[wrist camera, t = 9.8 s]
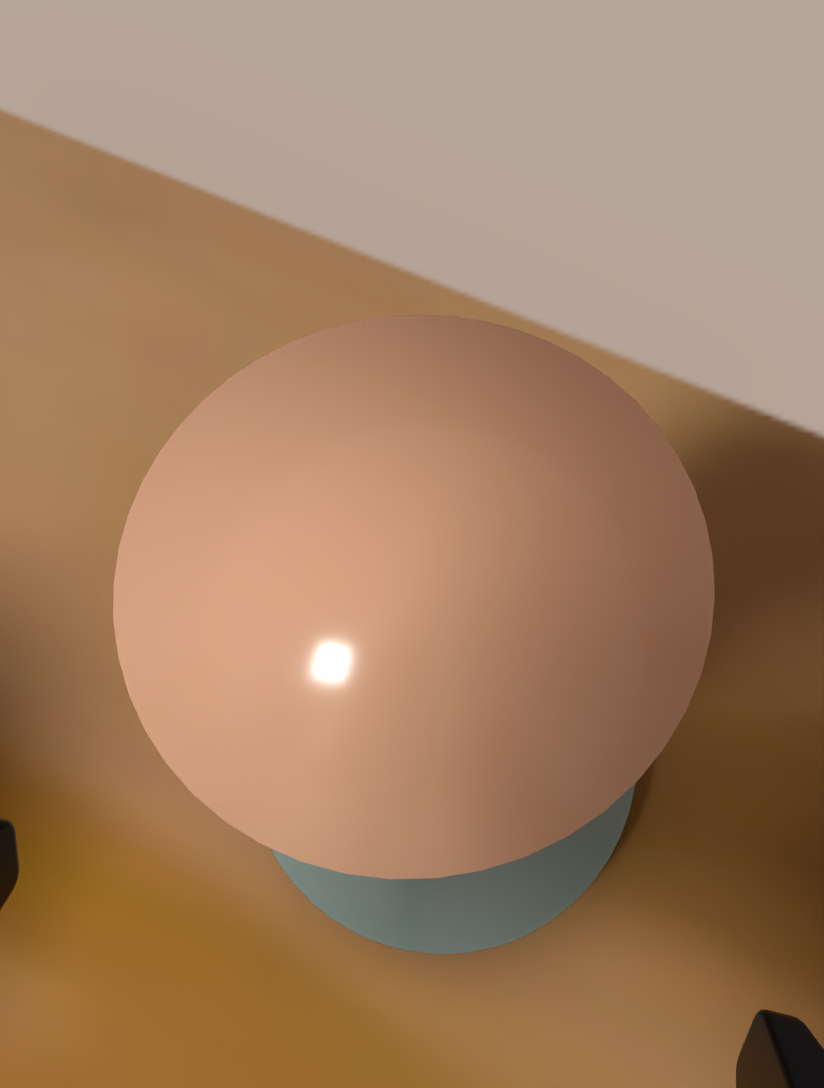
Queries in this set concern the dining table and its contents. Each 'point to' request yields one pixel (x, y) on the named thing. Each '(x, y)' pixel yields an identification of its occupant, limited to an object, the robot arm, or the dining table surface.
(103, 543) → the dining table surface
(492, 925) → the saucer
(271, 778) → the mushroom-shaped peg
